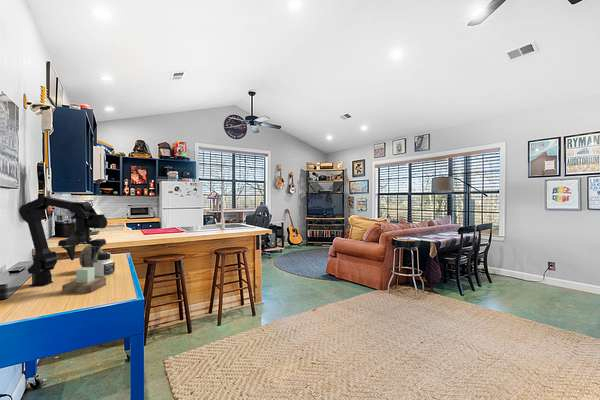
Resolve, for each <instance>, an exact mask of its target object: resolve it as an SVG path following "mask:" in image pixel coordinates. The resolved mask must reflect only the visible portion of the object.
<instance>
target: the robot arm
mask: <svg viewBox="0 0 600 400" xmlns="http://www.w3.org/2000/svg"><path fill="white" fill-rule="evenodd" d="M49 206H50V207H54V208H58V209H63V210H68V212H71V213H73V215H72V216H71V217H70V219H71V220H75V223H74V225H75V226H74V227H75V228H74V230H73V231H72V234H71V235H70V236H68V237H67V238H66V239H61V240H59V241H58V243H57V246H58V247H61V249H63V250H65V251H66V252H67V254H68V256H69V259H70V260H71V261H74V260H75V255H76V254H75V253H76V247H77V246H79V245H91V246H92V247H90V248H91V250H92V251H91V260H94V258H95V256H96V254H97V252H98V251H99V249H100V248H101V247H103V246H105V245H107V239H105V238H94V239H92V237H91V233H92V232H93V231H92V230H93V229H105V228H106V227H107V225H108V220H107V217H106V216H105V214H98V213H97V211H96V210H95V209H94V208H93V205H92V203H91V202H89V201H71V200H68V199H67V200H66V199H60V198H56V197H52V196H50V195H49V196H47V195H46V196H45V195H43V196H39V197H38V198H36V199H34V200H31V201H30V202H27V203H25V204H22V205H21V206H20V208H18V212H19V215H20V217H21V219H22V220H23V221H25V223H27V226H28V229H29V233H30V237H31V241H32V245H33V248H34V252H35V253H34V255H33V258H32V262H33V263H32V264H31V266H29V267H28V268H27V273H28V274H31V283H29V287H42V286H43V287H45V286H46V285H49V284H51V283H54V280H52V275H53V274H52V273H51V271H52V270H54V269H55V266H56V265H57V262H58V259H59V258H58V257H57V253H56V251H55V250H54V251H52V250H51V249H50V248H49V245H48V241H47V237H46V235H45V234H46V233H45V230H44V227H43V222H42V220H43V218H44V211H45V210H47V209H48V208H49ZM101 249H102V248H101Z"/></svg>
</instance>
